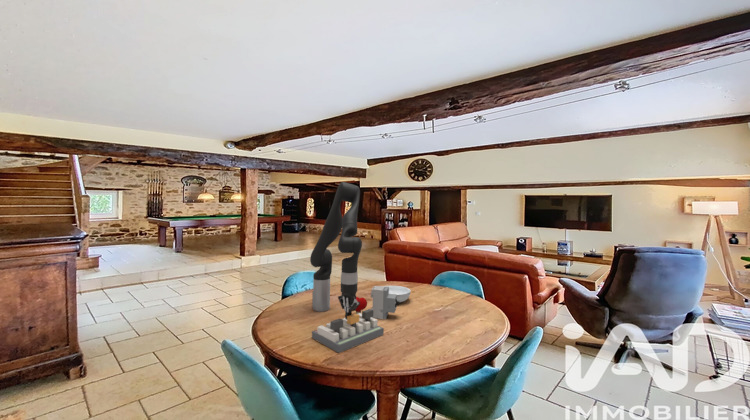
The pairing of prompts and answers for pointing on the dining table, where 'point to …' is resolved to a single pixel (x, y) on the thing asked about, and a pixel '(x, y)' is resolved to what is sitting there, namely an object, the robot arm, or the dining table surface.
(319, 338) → the breaker panel
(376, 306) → the circuit breaker
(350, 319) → the handle
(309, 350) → the dining table surface
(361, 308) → the red plush heart
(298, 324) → the dining table surface
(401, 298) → the serving bowl
